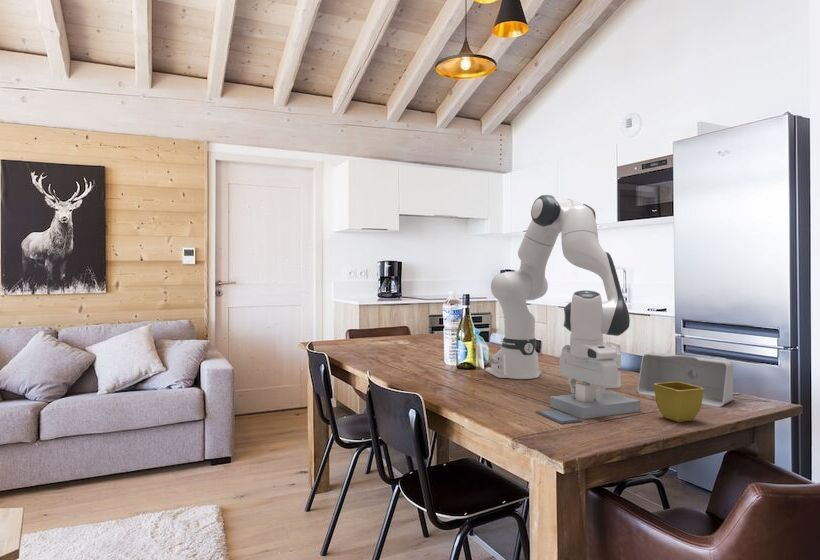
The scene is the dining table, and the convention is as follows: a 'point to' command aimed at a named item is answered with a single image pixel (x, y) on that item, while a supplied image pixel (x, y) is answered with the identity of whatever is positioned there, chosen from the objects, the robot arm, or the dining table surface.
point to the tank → (688, 375)
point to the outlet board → (595, 405)
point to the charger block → (585, 392)
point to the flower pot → (678, 400)
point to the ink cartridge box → (618, 361)
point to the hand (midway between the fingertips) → (586, 397)
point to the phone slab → (558, 416)
